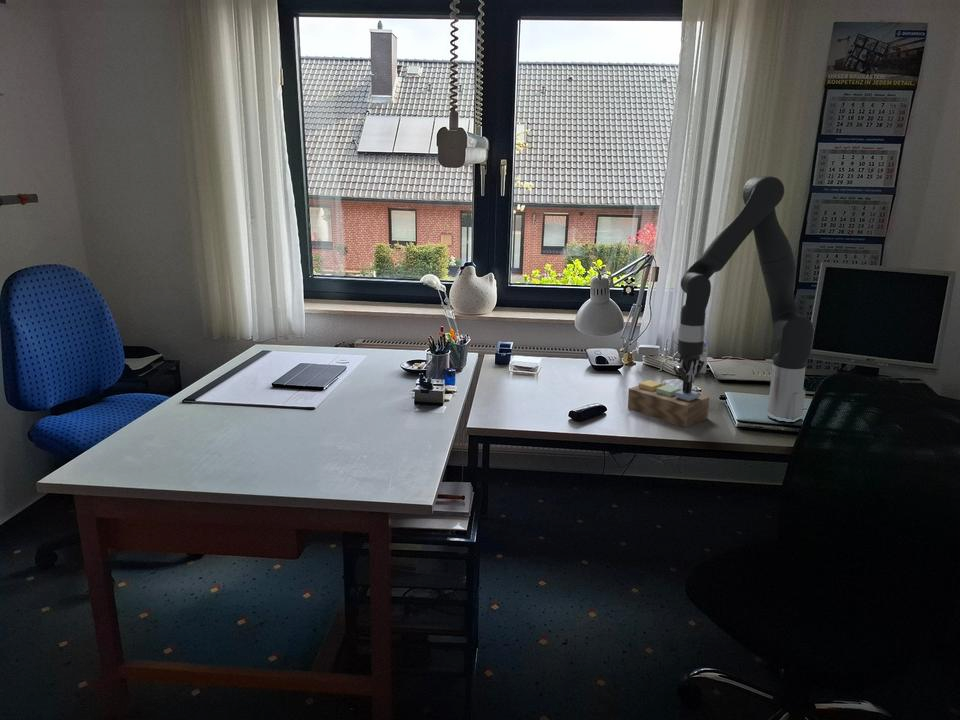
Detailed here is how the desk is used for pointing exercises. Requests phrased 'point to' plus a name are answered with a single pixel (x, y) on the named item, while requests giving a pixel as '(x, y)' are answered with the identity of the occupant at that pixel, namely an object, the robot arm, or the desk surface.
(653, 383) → the button ochre
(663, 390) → the button sage
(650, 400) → the control box
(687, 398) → the button slate
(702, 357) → the ink cartridge box
